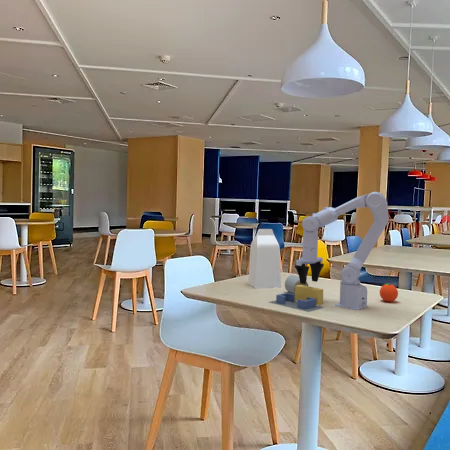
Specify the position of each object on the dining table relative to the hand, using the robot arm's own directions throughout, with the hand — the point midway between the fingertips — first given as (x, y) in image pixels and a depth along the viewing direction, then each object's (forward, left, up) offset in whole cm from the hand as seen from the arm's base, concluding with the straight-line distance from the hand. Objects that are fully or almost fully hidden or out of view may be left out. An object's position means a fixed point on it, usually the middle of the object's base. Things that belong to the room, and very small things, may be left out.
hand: (308, 282), depth 177 cm
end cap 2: (-5, +8, -7) cm, 12 cm away
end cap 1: (+5, +8, -8) cm, 12 cm away
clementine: (-19, -27, -8) cm, 34 cm away
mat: (0, +8, -8) cm, 11 cm away
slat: (0, 0, -8) cm, 8 cm away
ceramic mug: (+12, -10, -8) cm, 17 cm away
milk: (+33, -12, -8) cm, 36 cm away
